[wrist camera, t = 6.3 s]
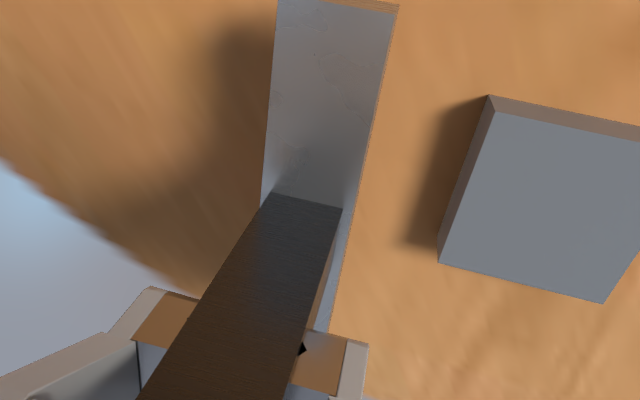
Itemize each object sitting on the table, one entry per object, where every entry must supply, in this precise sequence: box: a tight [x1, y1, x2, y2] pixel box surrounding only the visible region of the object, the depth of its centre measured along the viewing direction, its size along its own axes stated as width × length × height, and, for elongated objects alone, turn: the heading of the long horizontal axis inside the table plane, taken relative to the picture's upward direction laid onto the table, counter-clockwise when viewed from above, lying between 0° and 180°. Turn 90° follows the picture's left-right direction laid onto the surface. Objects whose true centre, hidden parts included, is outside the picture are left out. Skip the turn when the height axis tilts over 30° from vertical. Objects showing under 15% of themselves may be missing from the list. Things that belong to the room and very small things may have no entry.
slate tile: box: [437, 94, 640, 304], centre depth 18 cm, size 7×7×2 cm
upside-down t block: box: [135, 0, 400, 400], centre depth 12 cm, size 14×3×12 cm, turn 172°
